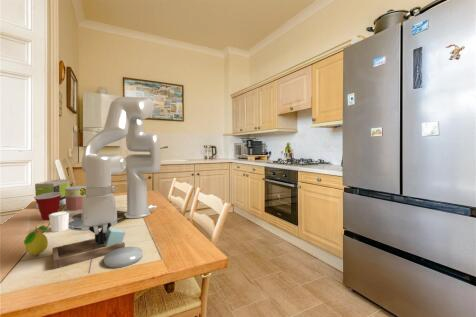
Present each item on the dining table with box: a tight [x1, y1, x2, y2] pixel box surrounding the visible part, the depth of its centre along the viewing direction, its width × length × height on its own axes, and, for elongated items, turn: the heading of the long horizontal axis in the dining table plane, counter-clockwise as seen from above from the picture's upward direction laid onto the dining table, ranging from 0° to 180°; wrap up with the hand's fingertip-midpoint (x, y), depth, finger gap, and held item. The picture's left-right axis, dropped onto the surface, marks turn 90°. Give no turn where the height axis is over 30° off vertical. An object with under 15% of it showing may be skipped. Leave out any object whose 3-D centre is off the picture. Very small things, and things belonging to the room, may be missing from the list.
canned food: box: [65, 185, 86, 212], centre depth 131 cm, size 11×11×12 cm
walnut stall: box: [52, 237, 126, 270], centre depth 77 cm, size 19×11×2 cm, turn 131°
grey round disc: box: [103, 246, 143, 269], centre depth 73 cm, size 11×11×2 cm
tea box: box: [34, 178, 71, 210], centre depth 136 cm, size 15×10×15 cm
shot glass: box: [49, 211, 70, 233], centre depth 98 cm, size 7×7×7 cm
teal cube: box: [103, 227, 126, 247], centre depth 82 cm, size 5×5×5 cm
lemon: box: [23, 225, 49, 256], centre depth 75 cm, size 7×6×10 cm
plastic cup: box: [33, 192, 62, 221], centre depth 112 cm, size 11×11×12 cm
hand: (100, 243), depth 79 cm, fingers closed
